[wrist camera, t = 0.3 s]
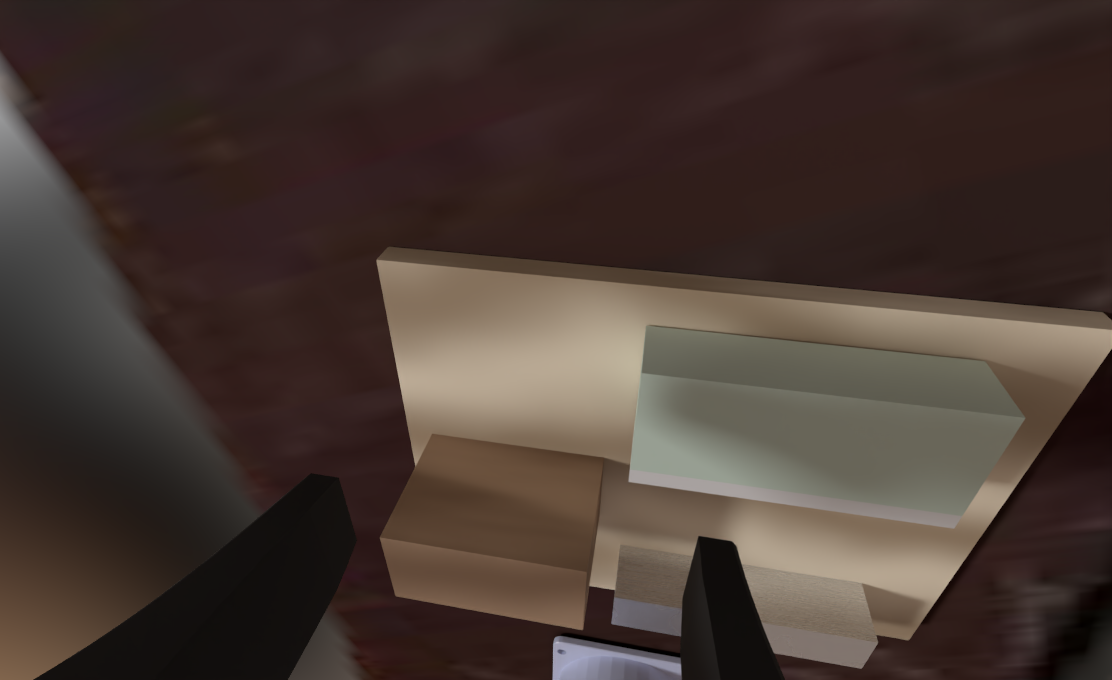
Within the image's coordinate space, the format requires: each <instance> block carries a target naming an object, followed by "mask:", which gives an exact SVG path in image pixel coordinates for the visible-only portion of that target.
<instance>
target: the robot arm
mask: <svg viewBox="0 0 1112 680" xmlns="http://www.w3.org/2000/svg"><path fill="white" fill-rule="evenodd" d="M356 541H357V539H356V536H355V532H354V529H353V525H352V522H351V519H350V515H349V512H348V508H347V505H346V501H345V498H344V494H343V491H342V488H341V484H340V481H339V478H337V477H330V476H324V475H318V474H312V473H311V474H310V475H308V476H307V477H306V478H305V479H304V480H302V481H301V482H300V483H299V484H297V485H296V486H295V487H294V488H293V489H291V490H290V491H289V492H288V493H287V494H286V495H284V496H283V497H282V498H281V499H280V500H279V501H277V502H276V503H275V504H274V505H273V506H271V507H270V508H269V509H268V510H267V511H266V512H264V513H263V514H262V515H261V516H260V517H258V518H257V519H256V520H255V521H254V522H252V523H251V524H250V525H249V526H248V527H247V528H245V529H244V530H243V531H242V532H241V533H239V534H238V535H237V536H236V537H234V538H233V539H232V540H231V541H230V542H228V543H227V544H226V545H225V546H223V547H222V548H221V549H220V550H219V551H217V552H216V553H215V554H214V555H212V556H211V557H210V558H209V559H207V560H206V561H205V562H204V563H202V564H201V565H200V566H199V567H197V568H196V569H195V570H193V571H192V572H191V573H190V574H188V575H187V576H185V577H184V578H183V579H181V580H180V581H179V582H178V583H176V584H175V585H174V586H172V587H171V588H170V589H168V590H167V591H166V592H164V593H163V594H162V595H161V596H159V597H158V598H156V599H155V600H154V601H152V602H151V603H150V604H148V605H147V606H146V607H144V608H143V609H141V610H140V611H138V612H137V613H136V614H134V615H133V616H131V617H130V618H129V619H127V620H126V621H124V622H123V623H121V624H120V625H118V626H117V627H115V628H114V629H112V630H111V631H110V632H108V633H107V634H105V635H104V636H102V637H101V638H99V639H98V640H96V641H95V642H93V643H92V644H90V645H89V646H87V647H86V648H84V649H82V650H81V651H79V652H78V653H76V654H74V655H73V656H71V657H70V658H68V659H66V660H65V661H63V662H62V663H60V664H58V665H57V666H55V667H54V668H52V669H50V670H49V671H47V672H46V673H44V674H42V675H40V676H39V677H37V678H35V679H34V680H288V678H289V677H290V675H291V673H292V671H293V669H294V667H295V666H296V664H297V662H298V660H299V658H300V657H301V655H302V653H303V651H304V649H305V647H306V646H307V644H308V642H309V640H310V638H311V637H312V635H313V633H314V631H315V629H316V628H317V626H318V624H319V622H320V620H321V618H322V616H323V615H324V613H325V611H326V609H327V607H328V605H329V604H330V602H331V600H332V598H333V596H334V594H335V592H336V590H337V588H338V586H339V583H340V581H341V579H342V576H343V574H344V572H345V569H346V567H347V564H348V562H349V559H350V557H351V554H352V551H353V549H354V546H355V544H356ZM553 680H785V679H784V676H783V674H782V671H781V669H780V667H779V664H778V662H777V659H776V657H775V655H774V652H773V650H772V648H771V645H770V643H769V640H768V638H767V635H766V633H765V630H764V628H763V625H762V622H761V620H760V617H759V614H758V612H757V609H756V606H755V603H754V601H753V598H752V595H751V592H750V589H749V586H748V583H747V580H746V577H745V574H744V570H743V567H742V564H741V560H740V557H739V553H738V549H737V546H736V545H735V544H734V543H733V542H732V541H728V540H722V539H716V538H709V537H703V536H698V539H697V543H696V547H695V551H694V555H693V559H692V563H691V566H690V570H689V574H688V578H687V582H686V586H685V590H684V594H683V597H682V621H681V649H680V658H679V657H674V656H668V655H663V654H657V653H652V652H646V651H641V650H636V649H630V648H625V647H619V646H614V645H608V644H603V643H598V642H592V641H587V640H581V639H576V638H570V637H565V636H557V637H556V638H555V639H554V643H553Z"/></svg>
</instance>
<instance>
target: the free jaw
mask: <svg viewBox="0 0 1112 680" xmlns="http://www.w3.org/2000/svg"><path fill="white" fill-rule="evenodd" d="M1024 420H1025V417H1024V415H1023V414H1022V412H1021V411H1020V409H1019V408H1018V407H1017V405H1016V404H1015V402H1014V401H1013V400H1012V398H1011V397H1010V395H1009V394H1008V393H1007V391H1006V390H1005V388H1004V387H1003V386H1002V384H1001V383H1000V381H999V380H998V378H997V377H996V376H995V374H994V373H993V371H992V370H991V369H990V367H989V366H988V364H987V363H986V362H985V361H978V360H969V359H959V358H950V357H940V356H931V355H921V354H912V353H902V352H893V351H883V350H874V349H864V348H855V347H845V346H836V345H826V344H817V343H807V342H798V341H788V340H779V339H769V338H760V337H750V336H741V335H731V334H722V333H712V332H703V331H693V330H684V329H674V328H665V327H655V326H646V330H645V339H644V347H643V356H642V364H641V373H640V381H639V390H638V398H637V406H636V415H635V423H634V432H633V442H632V452H631V462H630V472H629V482H633V483H640V484H647V485H654V486H661V487H668V488H674V489H681V490H688V491H695V492H702V493H709V494H716V495H723V496H730V497H737V498H744V499H751V500H758V501H765V502H772V503H779V504H786V505H793V506H800V507H807V508H814V509H821V510H828V511H834V512H841V513H848V514H855V515H862V516H869V517H876V518H883V519H890V520H897V521H904V522H911V523H918V524H925V525H932V526H939V527H946V528H953V529H954V528H955V527H956V525H957V524H958V522H959V520H960V519H961V517H962V516H963V514H964V513H965V511H966V510H967V508H968V507H969V505H970V503H971V502H972V500H973V499H974V497H975V496H976V494H977V493H978V491H979V489H980V488H981V486H982V485H983V483H984V482H985V480H986V479H987V477H988V476H989V474H990V472H991V471H992V469H993V468H994V466H995V465H996V463H997V462H998V460H999V458H1000V457H1001V455H1002V454H1003V452H1004V451H1005V449H1006V448H1007V446H1008V445H1009V443H1010V441H1011V440H1012V438H1013V437H1014V435H1015V434H1016V432H1017V431H1018V429H1019V427H1020V426H1021V424H1022V423H1023V421H1024Z"/></svg>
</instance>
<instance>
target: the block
mask: <svg viewBox="0 0 1112 680" xmlns="http://www.w3.org/2000/svg"><path fill="white" fill-rule="evenodd" d="M603 466H604V457H597V456H589V455H582V454H575V453H568V452H561V451H553V450H546V449H539V448H532V447H524V446H517V445H510V444H503V443H496V442H488V441H481V440H474V439H467V438H460V437H452V436H445V435H438V434H432V435H431V437H430V439H429V441H428V443H427V445H426V447H425V449H424V451H423V453H422V455H421V457H420V459H419V461H418V463H417V465H416V467H415V469H414V471H413V473H412V475H411V477H410V479H409V481H408V483H407V485H406V487H405V489H404V491H403V493H402V495H401V497H400V499H399V501H398V503H397V504H396V506H395V508H394V510H393V512H392V514H391V516H390V518H389V520H388V522H387V524H386V526H385V528H384V530H383V532H382V534H381V536H380V540H381V543H382V547H383V551H384V555H385V558H386V562H387V566H388V569H389V573H390V577H391V581H392V584H393V588H394V592H395V595H396V596H398V597H403V598H409V599H414V600H420V601H425V602H431V603H436V604H442V605H447V606H453V607H458V608H464V609H469V610H475V611H480V612H486V613H491V614H497V615H502V616H508V617H513V618H519V619H524V620H530V621H535V622H541V623H546V624H552V625H557V626H563V627H568V628H574V629H579V630H583V626H584V619H585V612H586V605H587V598H588V591H589V585H590V578H591V571H592V564H593V557H594V550H595V543H596V536H597V529H598V522H599V515H600V503H601V491H602V478H603Z"/></svg>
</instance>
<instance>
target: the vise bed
mask: <svg viewBox="0 0 1112 680" xmlns="http://www.w3.org/2000/svg"><path fill="white" fill-rule="evenodd" d="M377 266H378V271H379V276H380V282H381V287H382V292H383V297H384V303H385V308H386V313H387V318H388V324H389V329H390V334H391V339H392V345H393V350H394V355H395V360H396V366H397V371H398V376H399V382H400V387H401V392H402V397H403V403H404V408H405V413H406V418H407V424H408V429H409V434H410V439H411V445H412V450H413V455H414V460H415V466H416V465H417V463H418V461H419V459H420V457H421V455H422V453H423V451H424V449H425V447H426V445H427V443H428V441H429V439H430V437H431V435H432V434H438V435H445V436H452V437H460V438H467V439H474V440H481V441H488V442H496V443H503V444H510V445H517V446H524V447H532V448H539V449H546V450H553V451H561V452H568V453H575V454H582V455H589V456H597V457H604V466H603V478H602V491H601V503H600V515H599V522H598V529H597V536H596V543H595V550H594V557H593V564H592V571H591V578H590V585H589V586H594V587H600V588H606V589H612V590H615V585H616V576H617V567H618V558H619V550H620V545H626V546H632V547H638V548H644V549H651V550H657V551H663V552H670V553H676V554H682V555H688V556H693V555H694V551H695V547H696V543H697V539H698V536H703V537H709V538H716V539H722V540H728V541H732V542H733V543H734V544H735V545H736V546H737V549H738V553H739V557H740V560H741V564H745V565H751V566H757V567H764V568H770V569H776V570H782V571H789V572H795V573H801V574H808V575H814V576H820V577H826V578H833V579H839V580H845V581H852V582H858V583H862V586H863V590H864V593H865V597H866V601H867V604H868V608H869V611H870V615H871V619H872V622H873V626H874V630H875V633H876V635H881V636H887V637H893V638H899V639H905V640H909V639H910V638H911V636H912V635H913V633H914V632H915V631H916V629H917V628H918V626H919V625H920V623H921V622H922V620H923V619H924V618H925V616H926V615H927V613H928V612H929V610H930V609H931V608H932V606H933V605H934V603H935V602H936V600H937V599H938V597H939V596H940V595H941V593H942V592H943V590H944V589H945V587H946V586H947V585H948V583H949V582H950V580H951V579H952V577H953V576H954V574H955V573H956V572H957V570H958V569H959V567H960V566H961V564H962V563H963V562H964V560H965V559H966V557H967V556H968V554H969V553H970V552H971V550H972V549H973V547H974V546H975V544H976V543H977V541H978V540H979V539H980V537H981V536H982V534H983V533H984V531H985V530H986V529H987V527H988V526H989V524H990V523H991V521H992V520H993V518H994V517H995V516H996V514H997V513H998V511H999V510H1000V508H1001V507H1002V506H1003V504H1004V503H1005V501H1006V500H1007V498H1008V497H1009V495H1010V494H1011V493H1012V491H1013V490H1014V488H1015V487H1016V485H1017V484H1018V483H1019V481H1020V480H1021V478H1022V477H1023V475H1024V474H1025V473H1026V471H1027V470H1028V468H1029V467H1030V465H1031V464H1032V462H1033V461H1034V460H1035V458H1036V457H1037V455H1038V454H1039V452H1040V451H1041V450H1042V448H1043V447H1044V445H1045V444H1046V442H1047V441H1048V439H1049V438H1050V437H1051V435H1052V434H1053V432H1054V431H1055V429H1056V428H1057V427H1058V425H1059V424H1060V422H1061V421H1062V419H1063V418H1064V416H1065V415H1066V414H1067V412H1068V411H1069V409H1070V408H1071V406H1072V405H1073V404H1074V402H1075V401H1076V399H1077V398H1078V396H1079V395H1080V393H1081V392H1082V391H1083V389H1084V388H1085V386H1086V385H1087V383H1088V382H1089V381H1090V379H1091V378H1092V376H1093V375H1094V373H1095V372H1096V371H1097V369H1098V368H1099V366H1100V365H1101V363H1102V362H1103V360H1104V359H1105V358H1106V356H1107V355H1108V353H1109V352H1110V350H1111V349H1112V320H1111V319H1110V318H1109V317H1108V316H1106V315H1105V314H1104V313H1103V312H1095V311H1084V310H1074V309H1063V308H1052V307H1041V306H1030V305H1019V304H1008V303H997V302H986V301H976V300H965V299H954V298H943V297H932V296H921V295H910V294H899V293H888V292H877V291H867V290H856V289H845V288H834V287H823V286H812V285H801V284H790V283H779V282H769V281H758V280H747V279H736V278H725V277H714V276H703V275H692V274H681V273H671V272H660V271H649V270H638V269H627V268H616V267H605V266H594V265H583V264H572V263H562V262H551V261H540V260H529V259H518V258H507V257H496V256H485V255H474V254H464V253H453V252H442V251H431V250H420V249H409V248H398V247H388V248H387V249H386V250H385V251H384V252H383V253H382V254H381V255H380V256H379V258H378V259H377ZM646 326H655V327H665V328H674V329H684V330H693V331H703V332H712V333H722V334H731V335H741V336H750V337H760V338H769V339H779V340H788V341H798V342H807V343H817V344H826V345H836V346H845V347H855V348H864V349H874V350H883V351H893V352H902V353H912V354H921V355H931V356H940V357H950V358H959V359H969V360H978V361H985V362H986V363H987V364H988V366H989V367H990V369H991V370H992V371H993V373H994V374H995V376H996V377H997V378H998V380H999V381H1000V383H1001V384H1002V386H1003V387H1004V388H1005V390H1006V391H1007V393H1008V394H1009V395H1010V397H1011V398H1012V400H1013V401H1014V402H1015V404H1016V405H1017V407H1018V408H1019V409H1020V411H1021V412H1022V414H1023V415H1024V417H1025V420H1024V421H1023V423H1022V424H1021V426H1020V427H1019V429H1018V431H1017V432H1016V434H1015V435H1014V437H1013V438H1012V440H1011V441H1010V443H1009V445H1008V446H1007V448H1006V449H1005V451H1004V452H1003V454H1002V455H1001V457H1000V458H999V460H998V462H997V463H996V465H995V466H994V468H993V469H992V471H991V472H990V474H989V476H988V477H987V479H986V480H985V482H984V483H983V485H982V486H981V488H980V489H979V491H978V493H977V494H976V496H975V497H974V499H973V500H972V502H971V503H970V505H969V507H968V508H967V510H966V511H965V513H964V514H963V516H962V517H961V519H960V520H959V522H958V524H957V525H956V527H955V528H954V529H953V528H946V527H939V526H932V525H925V524H918V523H911V522H904V521H897V520H890V519H883V518H876V517H869V516H862V515H855V514H848V513H841V512H834V511H828V510H821V509H814V508H807V507H800V506H793V505H786V504H779V503H772V502H765V501H758V500H751V499H744V498H737V497H730V496H723V495H716V494H709V493H702V492H695V491H688V490H681V489H674V488H668V487H661V486H654V485H647V484H640V483H633V482H629V472H630V462H631V452H632V442H633V432H634V423H635V415H636V406H637V398H638V390H639V381H640V373H641V364H642V356H643V347H644V339H645V330H646Z"/></svg>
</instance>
